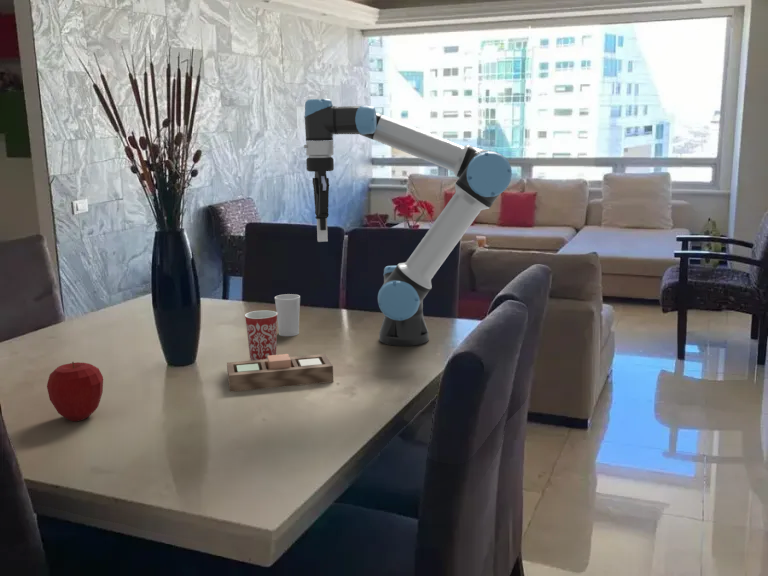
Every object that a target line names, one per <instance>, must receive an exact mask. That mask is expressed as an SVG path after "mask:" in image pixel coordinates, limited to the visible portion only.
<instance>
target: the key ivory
mask: <svg viewBox="0 0 768 576" xmlns="http://www.w3.org/2000/svg"><path fill="white" fill-rule="evenodd" d="M298 364H299V367H301V366H312V365H322V363H321V361H320V360H319V358H314V359H303V360H298Z"/></svg>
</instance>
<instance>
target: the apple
mask: <svg viewBox="0 0 768 576" xmlns="http://www.w3.org/2000/svg"><path fill="white" fill-rule="evenodd" d="M47 380H48V381H47V384H46V389H47V394H48V398H49V401H50V403H51V404H52V405H53V407H54V409H55V410H56V411H57V413H58V414H59V415H60V416H61V417H63V418H65V419H66V420H68V421H70V422H79V421H83V420H85V419H87V418H89V417H90V416H91V415H92V414H93V413H94V412H95V411H96V410H97V409H98V408H99V405H100V402H101V399H102V395H103V388H104V376H103V374H102V372H101V371H100V369H99V367H97V366H95V365H93V364H91V363H88V362H74V361H72V362H71V363H66V364H62V365H59V366H57V367H56V368H55V369H54V370H53V371H52V372H51V373H50V374H49V377H48V379H47Z"/></svg>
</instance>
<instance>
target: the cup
mask: <svg viewBox="0 0 768 576" xmlns="http://www.w3.org/2000/svg"><path fill="white" fill-rule="evenodd" d="M274 302H275V310H276V311H275V312H277V313H278V315H277V329H278V335H279V336H281V337H294V336H297V335H299V334H300V310H301V309H300V308H301V307H300V306H301V295H299V294H296V293H295V294H294V293H293V294H292V293H291V294H290V293H287V294H286V293H285V294H279V295H276V296H274Z"/></svg>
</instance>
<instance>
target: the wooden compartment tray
mask: <svg viewBox="0 0 768 576" xmlns="http://www.w3.org/2000/svg"><path fill="white" fill-rule="evenodd" d="M289 357H290V359H291V367H290V368H279V369H268V359H263V360H252V361H250V360H241V361H231V362H226V370H227V371H226V372H227V382H228V389H229V392H231V393H233V392H240V391H241V392H242V391H251V390H252V391H253V390H262V389H263V390H264V389H273V388H274V389H275V388H283V387H292V386H305V385H314V384H323V383H324V384H325V383H333V382H334V366H333V364H332V362H331V360H330V359H329V357H328V356H327V354H326V353H323V354H320V353H319V354H310V355H299V356H298V355H297V356H289ZM314 358H319V360H320V361H321V363H322V365H312V366H301V367H299V364H298V360H303V359H314ZM247 364H258V366H259V370H257V371H246V372H237V365H247Z"/></svg>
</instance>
